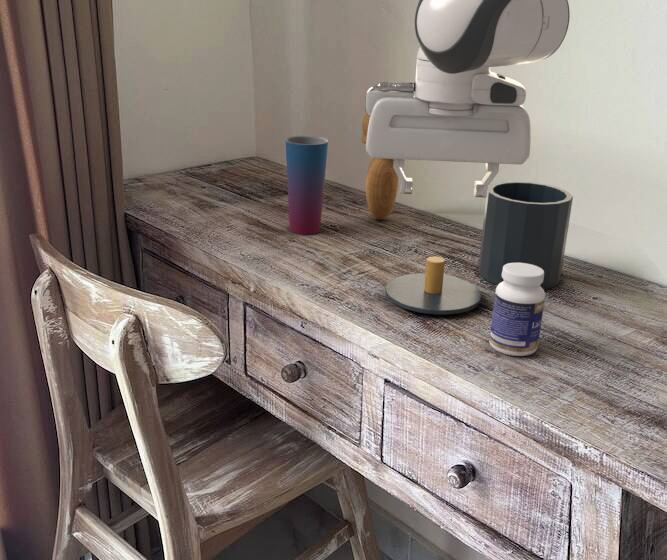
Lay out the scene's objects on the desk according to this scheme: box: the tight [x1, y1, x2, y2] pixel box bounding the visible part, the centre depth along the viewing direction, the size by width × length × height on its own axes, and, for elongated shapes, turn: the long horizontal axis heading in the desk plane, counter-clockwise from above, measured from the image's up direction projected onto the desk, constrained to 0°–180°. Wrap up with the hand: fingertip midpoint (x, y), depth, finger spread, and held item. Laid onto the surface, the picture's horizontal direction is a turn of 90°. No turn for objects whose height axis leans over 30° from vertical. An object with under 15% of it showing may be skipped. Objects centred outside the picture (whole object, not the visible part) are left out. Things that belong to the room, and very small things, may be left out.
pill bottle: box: [488, 263, 546, 357], centre depth 95 cm, size 6×6×10 cm
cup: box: [284, 135, 329, 236], centre depth 132 cm, size 7×7×15 cm
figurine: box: [360, 112, 400, 220], centre depth 137 cm, size 9×7×20 cm
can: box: [478, 180, 574, 290], centre depth 116 cm, size 12×12×12 cm
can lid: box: [384, 255, 482, 316], centre depth 108 cm, size 13×13×6 cm
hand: (442, 194), depth 104 cm, fingers open, 8 cm apart
